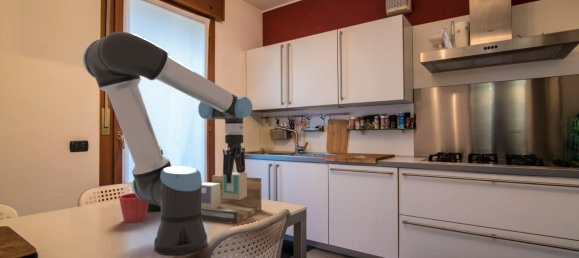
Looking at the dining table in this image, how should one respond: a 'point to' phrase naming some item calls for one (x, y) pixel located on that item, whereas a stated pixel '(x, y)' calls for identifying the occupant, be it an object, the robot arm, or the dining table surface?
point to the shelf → (235, 203)
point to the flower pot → (133, 208)
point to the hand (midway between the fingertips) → (234, 189)
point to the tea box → (236, 186)
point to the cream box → (210, 195)
